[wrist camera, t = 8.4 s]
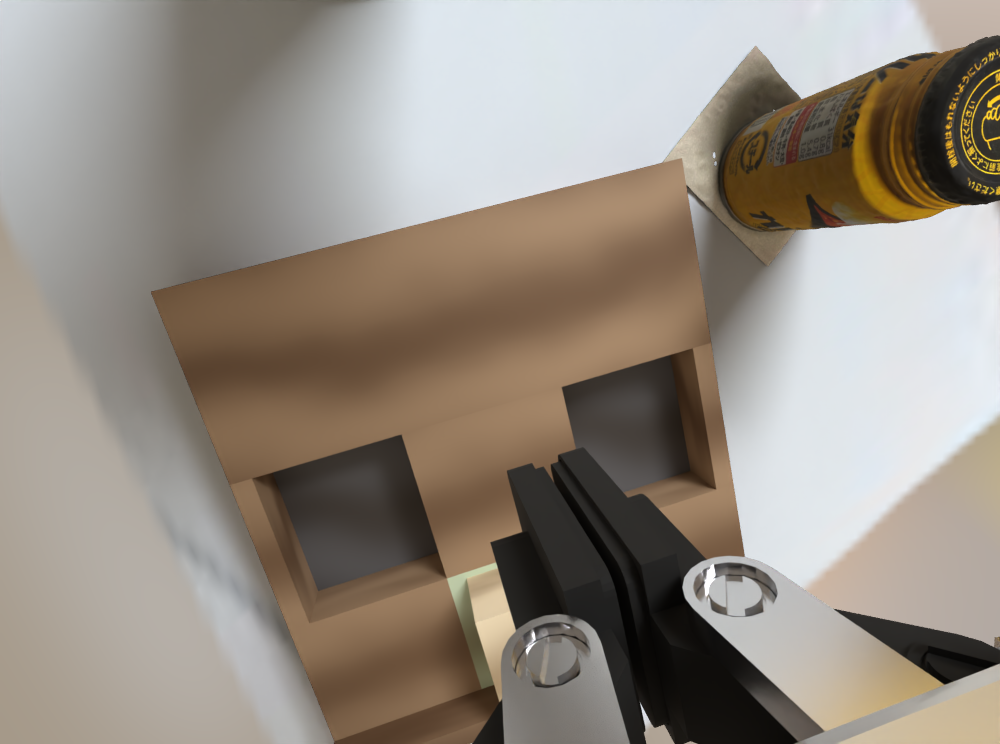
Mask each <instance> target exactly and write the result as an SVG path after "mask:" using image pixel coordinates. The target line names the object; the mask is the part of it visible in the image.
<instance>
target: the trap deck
mask: <svg viewBox="0 0 1000 744" xmlns="http://www.w3.org/2000/svg"><path fill="white" fill-rule="evenodd" d="M151 294H152V296H153V299H154V301H155V304H156V306H157V308H158V311H159V313H160V316H161V318H162V321H163V323H164V326H165V328H166V330H167V333H168V335H169V338H170V340H171V343H172V345H173V348H174V350H175V352H176V355H177V357H178V360H179V362H180V365H181V367H182V370H183V372H184V374H185V377H186V379H187V382H188V384H189V387H190V389H191V392H192V394H193V396H194V399H195V401H196V404H197V406H198V409H199V411H200V414H201V416H202V418H203V421H204V423H205V426H206V428H207V431H208V433H209V436H210V438H211V441H212V443H213V445H214V448H215V450H216V453H217V455H218V458H219V460H220V463H221V465H222V467H223V470H224V472H225V475H226V477H227V480H228V482H229V485H230V487H231V489H232V492H233V494H234V497H235V499H236V502H237V504H238V507H239V509H240V511H241V514H242V516H243V519H244V521H245V524H246V526H247V529H248V531H249V533H250V536H251V538H252V541H253V543H254V546H255V548H256V551H257V553H258V555H259V558H260V560H261V563H262V565H263V568H264V570H265V573H266V575H267V578H268V580H269V582H270V585H271V587H272V590H273V592H274V595H275V597H276V600H277V602H278V604H279V607H280V609H281V612H282V614H283V617H284V619H285V622H286V624H287V626H288V629H289V631H290V634H291V636H292V639H293V641H294V644H295V646H296V648H297V651H298V653H299V656H300V658H301V661H302V663H303V666H304V668H305V670H306V673H307V675H308V678H309V680H310V683H311V685H312V688H313V690H314V692H315V695H316V697H317V700H318V702H319V705H320V707H321V710H322V712H323V714H324V717H325V719H326V722H327V724H328V727H329V729H330V732H331V734H332V737H333V739H334V744H470V743H473V742H474V740H475V739H476V737H477V736H478V734H479V733H480V731H481V730H482V728H483V727H484V725H485V724H486V722H487V721H488V719H489V718H490V716H491V714H492V713H493V711H494V710H495V708H496V707H497V705H498V704H499V699H498V696H497V692H496V689H495V686H494V683H493V679H492V676H491V673H490V669H489V666H488V663H487V660H486V656H485V653H484V650H483V647H482V643H481V640H480V637H479V634H478V630H477V627H476V624H475V619H474V614H473V609H472V603H471V598H470V593H469V588H468V582H467V578H469V577H472V576H475V575H478V574H481V573H484V572H487V571H490V570H493V569H496V568H497V564H496V561H495V557H494V554H493V550H492V547H491V543H490V542H493V541H496V540H499V539H502V538H505V537H508V536H511V535H514V534H517V533H520V532H522V529H521V525H520V521H519V517H518V513H517V510H516V506H515V502H514V498H513V495H512V491H511V487H510V483H509V479H508V475H507V470H510V469H514V468H517V467H520V466H523V465H526V464H530V463H532V464H533V465H534V467H535V469H537V468H540V467H543V466H544V468H545V469H546V471H547V472H548V474H549V476H550V477H551V479H552V480H553V476H552V472H551V464H553V463H556V462H558V455H559V454H562V453H565V452H568V451H572V450H575V449H578V448H581V447H584V448H585V449H586V450H587V452H588V453H589V454H590V455H591V456H592V457H593V458H594V460H595V461H596V462H597V463H598V464H599V465H600V466H601V468H602V469H603V470H604V471H605V472H606V473H607V474H608V476H609V477H610V478H611V479H612V480H613V481H614V482H615V483H616V485H617V486H618V487H619V488H620V489H621V490H622V491H623V493H624V494H625V495H626V496H627V497H631V496H634V495H637V494H644V495H645V496H647V497H648V498H649V499H650V500H651V501H652V502H653V504H654V505H655V506H656V507H657V508H658V509H659V510H660V511H661V512H662V513H663V514H664V515H665V516H666V517H667V518H668V519H669V520H670V521H671V522H672V523H673V525H674V526H675V527H676V528H677V529H678V530H679V531H680V532H681V533H682V534H683V535H684V536H685V537H686V538H687V539H688V540H689V541H690V542H691V543H692V544H693V546H694V547H695V548H696V549H697V550H698V551H699V552H700V553H701V554H702V555H703V556H704V557H705V558H706V559H707V560H708V559H711V558H714V557H723V556H738V557H745V555H744V549H743V542H742V536H741V530H740V523H739V517H738V511H737V504H736V498H735V492H734V485H733V479H732V472H731V466H730V460H729V453H728V447H727V441H726V434H725V428H724V422H723V415H722V409H721V403H720V396H719V390H718V384H717V377H716V371H715V365H714V358H713V352H712V346H711V339H710V333H709V326H708V320H707V314H706V307H705V301H704V295H703V288H702V282H701V276H700V269H699V263H698V257H697V250H696V244H695V238H694V231H693V225H692V219H691V212H690V206H689V200H688V193H687V187H686V180H685V174H684V168H683V161H682V158H680V159H676V160H672V161H668V162H664V163H660V164H656V165H652V166H648V167H644V168H640V169H636V170H632V171H628V172H624V173H620V174H616V175H612V176H608V177H604V178H600V179H596V180H592V181H588V182H584V183H580V184H576V185H572V186H569V187H565V188H561V189H557V190H553V191H549V192H545V193H541V194H537V195H533V196H529V197H525V198H521V199H517V200H513V201H509V202H505V203H501V204H497V205H493V206H489V207H485V208H481V209H477V210H473V211H469V212H465V213H461V214H457V215H453V216H449V217H446V218H442V219H438V220H434V221H430V222H426V223H422V224H418V225H414V226H410V227H406V228H402V229H398V230H394V231H390V232H386V233H382V234H378V235H374V236H370V237H366V238H362V239H358V240H354V241H350V242H346V243H342V244H338V245H334V246H330V247H326V248H322V249H319V250H315V251H311V252H307V253H303V254H299V255H295V256H291V257H287V258H283V259H279V260H275V261H271V262H267V263H263V264H259V265H255V266H251V267H247V268H243V269H239V270H235V271H231V272H227V273H223V274H219V275H215V276H211V277H207V278H203V279H199V280H195V281H192V282H188V283H184V284H180V285H176V286H172V287H168V288H164V289H160V290H156V291H152V292H151ZM553 482H554V480H553Z"/></svg>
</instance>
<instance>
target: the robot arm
mask: <svg viewBox="0 0 1000 744" xmlns="http://www.w3.org/2000/svg"><path fill="white" fill-rule="evenodd" d="M551 472H552V476H553V480H554V482H553V480H552V479H551V477H550V476H549V474H548V472H547V471H546V469H545V468H544V466H543V467H540V468H537V469H535V467H534V465H533V464H532V463H530V464H526V465H523V466H520V467H517V468H514V469H510V470H507V475H508V479H509V483H510V487H511V491H512V495H513V498H514V502H515V506H516V510H517V513H518V517H519V521H520V525H521V529H522V532H520V533H517V534H514V535H511V536H508V537H505V538H502V539H499V540H496V541H493V542H490V543H491V547H492V550H493V554H494V557H495V561H496V564H497V568H498V571H499V575H500V578H501V582H502V585H503V589H504V592H505V595H506V599H507V602H508V606H509V609H510V613H511V616H512V619H513V623H514V626H515V630H516V632H515V633H514V634H513V635H512V636H511V637H510V638H509V639H508V641H507V643H506V645H505V647H504V649H503V651H502V658H501V682H502V699H501V701H500V702H499V704H498V705H497V707H496V708H495V710H494V711H493V713H492V714H491V716H490V718H489V719H488V721H487V722H486V724H485V725H484V727H483V728H482V730H481V731H480V733H479V734H478V736H477V737H476V739H475V740H474V742H473V743H472V744H646V740H645V736H644V732H645V724H644V720H643V715H642V710H641V706H640V703H641V705H642V707H643V709H644V711H645V712H646V714H647V716H648V718H649V720H650V722H651V724H652V725H653V727H655V728H656V727H659V726H661V725H665V726H666V729H667V730H668V732H669V734H670V736H671V738H672V739H673V741H674V743H675V744H684V743H687V742H689V741H692V742H694V743H697V744H1000V637H995V645H994V647H992V646H990V645H988V644H986V643H984V642H982V641H979V640H976V639H972V638H968V637H965V636H962V635H958V634H954V633H948V632H944V631H939V630H934V629H928V628H924V627H919V626H914V625H909V624H905V623H900V622H894V621H890V620H885V619H880V618H876V617H871V616H866V615H861V614H856V613H851V612H846V611H841V610H837V609H832V608H831V607H829V606H828V605H826V604H825V603H823V602H822V601H821V600H819V599H817V598H816V597H815V596H813V595H812V594H810V593H809V592H807V591H806V590H804V589H803V588H801V587H800V586H798V585H797V584H796V583H794V582H793V581H791V580H790V579H788V578H787V577H785V576H784V575H782V574H781V573H779V572H778V571H776V570H775V569H773V568H772V567H770V566H768V565H766V564H764V563H762V562H760V561H757V560H753V559H750V558H746V557H738V556H723V557H714V558H711V559H708V560H707V559H706V558H705V557H704V556H703V555H702V554H701V553H700V552H699V551H698V550H697V549H696V548H695V547H694V546H693V544H692V543H691V542H690V541H689V540H688V539H687V538H686V537H685V536H684V535H683V534H682V533H681V532H680V531H679V530H678V529H677V528H676V527H675V526H674V525H673V523H672V522H671V521H670V520H669V519H668V518H667V517H666V516H665V515H664V514H663V513H662V512H661V511H660V510H659V509H658V508H657V507H656V506H655V505H654V504H653V502H652V501H651V500H650V499H649V498H648V497H647V496H645V495H644V494H637V495H634V496H631V497H627V496H626V495H625V494H624V493H623V491H622V490H621V489H620V488H619V487H618V486H617V485H616V483H615V482H614V481H613V480H612V479H611V478H610V477H609V476H608V474H607V473H606V472H605V471H604V470H603V469H602V468H601V466H600V465H599V464H598V463H597V462H596V461H595V460H594V458H593V457H592V456H591V455H590V454H589V453H588V452H587V450H586V449H585V448H584V447H581V448H578V449H575V450H572V451H568V452H565V453H562V454H559V455H558V462H556V463H553V464H551Z"/></svg>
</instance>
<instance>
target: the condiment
mask: <svg viewBox="0 0 1000 744" xmlns="http://www.w3.org/2000/svg"><path fill="white" fill-rule="evenodd" d="M773 110H775V111H773ZM713 152H715V155H716V157H715V158H713ZM680 158H682V161H683V168H684V174H685V180H686V185H687V186H688V187H689V188H690V189H691V190H692V191H693V192H694V193H695V194H696V195H697V196H698V197H699V198H700V199H701V200H702V201H703V202H704V203H705V205H706V206H707V207H709V208H710V209H711V211H712V212H713V213H714V214H715V215H716V216H717V217H718V218H719V219H720V220H721V221H722V222H723V223H724V224H725V225H726V226H727V227H728V228H729V229H730V230H731V231H732V232H733V233H734V234H735V235H736V236H737V237H738V238H739V239H740V240H741V241H742V242H743V243H744V244H745V245H746V246H747V247H748V248H749V249H750V250H751V251H752V252H753V253H754V254H755V255H756V256H757V257H758V258H759V259H760V260H761V261H762V262H763V263H765V264H766V265H767V266H769V265H770V263H771V262H772V260H773V259H774V258H775V257H776V256H777V255H778V253H779V252H780V251H781V250H782V248H783V247H784V245H785V244H786V243H787V242H788V240H789V239H790V238H791V236H792V235H793V234H794V232H795V231H796V230H807V229H819V228H836V227H842V226H852V225H865V224H877V223H899V222H906V221H914V220H919V219H923V218H928V217H931V216H934V215H936V214H938V213H940V212H942V211H944V210H946V209H951V208H955V207H959V206H961V205H979V204H988V203H991V202H994V201H999V200H1000V36H998V35H997V36H992V37H989V38H988V37H985V38H983V39H980V40H977V41H976V42H975V43H972V44H969V45H968V46H966V47H963V48H958V49H954V50H950V51H946V52H943V53H938V52H931V53H920V54H915V55H911V56H908V57H905V58H902V59H899V60H897V61H895V62H892V63H889V64H887V65H885V66H882V67H880V68H878V69H875V70H873V71H870V72H868V73H866V74H863V75H860V76H858V77H856V78H854V79H851V80H849V81H846V82H843V83H841V84H839V85H836V86H834V87H831V88H829V89H826V90H824V91H821V92H819V93H816V94H814V95H812V96H809V97H807V98H804V99H802V100H801V98H800V97H799V95H798V94H797V93H796V92H794V91H793V90H792V89H791V88H790V86H789V85H788V84H787V82H786V81H785V80H783V79H782V77H781V76H780V75H779V74H778V73H777V71H776V70H775V69H774V67H773V66H772V64H771V63H770V61H769V60H768V59H767V58H766V57H765V56H764V55H763V54H762V52H761V51H760V50H759V49H758V48H757V47H756V46H755V47H754V48H753V49H752V51H751V52H750V53H749V54H748V56H747V57H746V58H745V60H743V61H742V63H741V64H740V65H739V66H738V68H737V69H736V70H735V71H734V73H733V74H732V75H731V76H730V77H729V79H728V80H727V81H726V83H725V84H724V85H723V86H722V87H721V88H720V90H719V91H718V92H717V94H716V95H715V96H714V97H713V99H712V100H711V101H710V103H709V104H708V105H707V106H706V108H705V109H704V110H703V111H702V113H701V114H700V115H699V116H698V117H697V119H696V120H695V122H694V123H693V124H692V126H691V127H690V128H689V130H688V131H687V132H686V133H685V134H684V136H683V137H682V138H681V139H680V141H679V142H678V143H677V145H676V146H675V147H674V149H673V150H672V151H671V153H670V154H669V155H668V156H667V158H666V159H665V160H664V161H663V163H664V162H668V161H672V160H676V159H680ZM715 161H716V162H717V166H714V162H715Z"/></svg>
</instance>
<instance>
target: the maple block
mask: <svg viewBox="0 0 1000 744" xmlns="http://www.w3.org/2000/svg"><path fill="white" fill-rule="evenodd" d="M467 582H468V588H469V593H470V598H471V603H472V609H473V614H474V619H475V624H476V627H477V630H478V634H479V637H480V640H481V643H482V647H483V650H484V653H485V656H486V660H487V663H488V666H489V669H490V673H491V676H492V679H493V683H494V686H495V689H496V692H497V696H498V699H499V702H500V701H501V699H502V682H501V658H502V651H503V649H504V647H505V645H506V643H507V641H508V639H509V638H510V637H511V636H512V635H513V634H514V633H515V632H516V630H515V626H514V623H513V619H512V616H511V613H510V609H509V606H508V602H507V599H506V595H505V592H504V589H503V585H502V582H501V578H500V575H499V571H498V568H496V569H493V570H490V571H487V572H484V573H481V574H478V575H475V576H472V577H469V578H467Z"/></svg>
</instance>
